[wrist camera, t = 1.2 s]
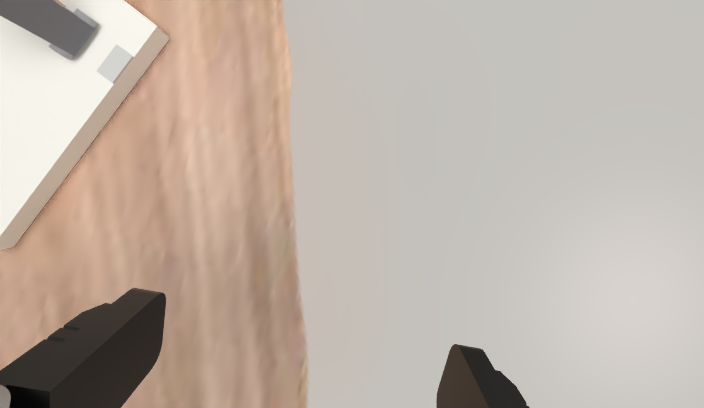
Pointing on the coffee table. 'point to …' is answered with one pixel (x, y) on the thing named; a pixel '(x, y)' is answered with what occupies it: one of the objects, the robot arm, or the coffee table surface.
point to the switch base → (62, 102)
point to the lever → (51, 23)
